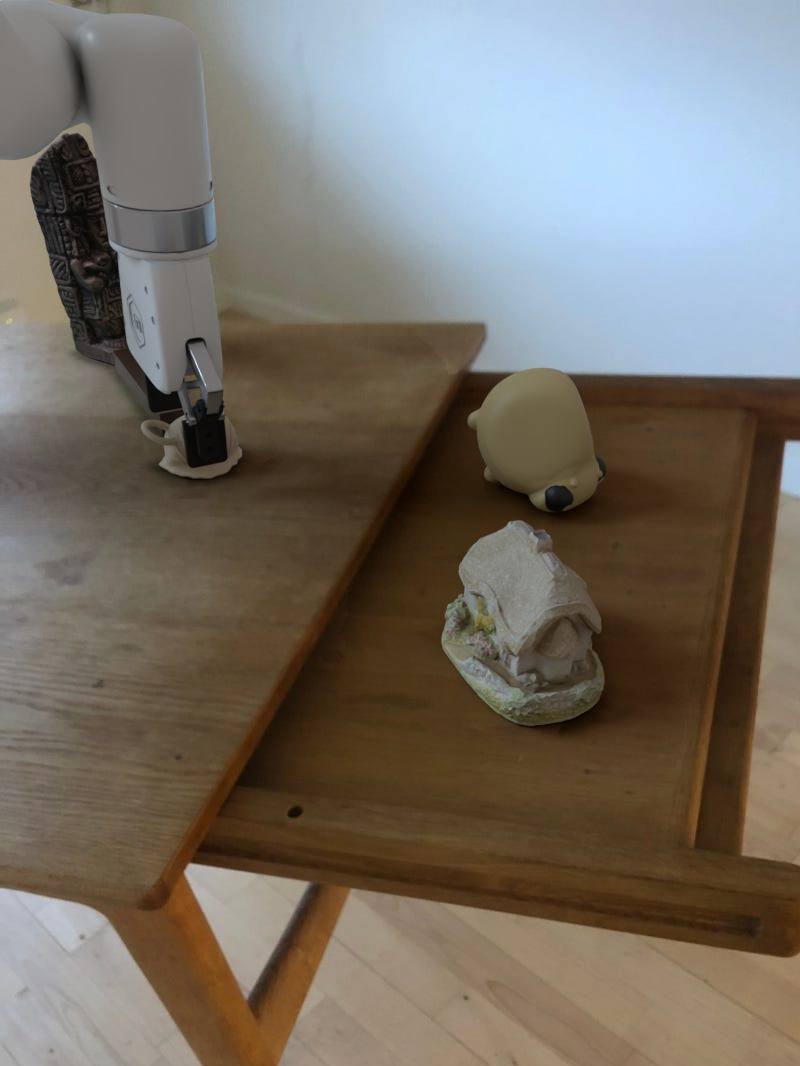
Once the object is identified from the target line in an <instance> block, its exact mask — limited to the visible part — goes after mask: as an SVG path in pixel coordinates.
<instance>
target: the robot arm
mask: <svg viewBox="0 0 800 1066" xmlns="http://www.w3.org/2000/svg"><path fill="white" fill-rule="evenodd" d="M203 66H204V65H203V59H202V51H201V47H200V43H199V40H198V39H197V36H196V35H195V33H194V32H193V30H192V29H191V28H189V26H187V24H184V23H182V22H180V21H178V20H177V19H174V18H170V17H166V16H161V15H155V14H146V13H133V12H132V13H131V12H128V13H127V12H123V13H122V12H118V13H117V12H116V13H115V12H114V13H105V14H104V13H99V12H94V11H90V10H85V9H81V8H77V7H74V6H69V5H66V4H62V3H58V2H54V1H51V0H0V161H1V160H3V161H4V160H5V161H19V160H23V159H27V158H30V157H32V156H35V155H37V154H38V153H40V152H42V151H44V149H46V148H48V147H49V146H50V145H51V144H52V143H53V142H54V141H55V140H56V139H57V138H58V137H59V136H60V135H61V133H63V132H64V131H66V130H68V129H72V128H74V127H75V126H78V125H80V124H81V125H82V124H86V125H88V126H89V127H90V130H91V136H92V142H93V148H94V155H95V158H96V162H97V168H98V174H99V181H100V187H101V193H102V200H103V206H104V212H105V219H106V225H107V231H108V237H109V243H110V246H111V247H112V248H113V249H114V250H115V251H117V252H118V266H119V277H120V287H121V296H122V305H123V314H124V323H125V332H126V339H127V344H128V347H129V349H130V352H131V353H132V355H133V356H134V358H135V359H136V361H137V362H138V364H139V365H140V367H141V368H142V369H143V373H144V380H145V387H146V393H147V400H148V407H149V409H150V410H151V412H153V413H157V412H163V411H168V410H174V409H180V408H183V411H184V414H185V418H186V420H182V429H183V437H184V445H185V453H186V461H187V464H188V465H189V467H191V468H197V467H202V466H207V465H212V464H217V463H221V462H225V461H226V460H227V459H228V453H227V442H226V431H225V416H226V414H225V407H226V405H224V404H225V401H224V400H223V398H224V386H223V384H222V381H223V378H224V377H223V376H224V367H223V363H224V362H223V349H222V341H221V340H222V339H221V331H220V323H219V315H218V314H219V313H218V309H217V308H218V307H217V300H216V295H215V287H214V281H213V275H212V269H211V264H210V259H209V253H212V252H213V251H214V250H215V249H216V248H217V247H218V243H219V242H218V232H217V220H216V208H215V196H214V186H213V173H212V164H211V153H210V152H211V151H210V141H209V140H210V139H209V129H208V115H207V104H206V93H205V92H206V91H205V80H204V69H203V68H204V67H203ZM188 376H195V377H196V379H193V380H187V381H186V379H185V377H188ZM194 392H200V395H199V396H200V398H198V399H197V400H196V401H195V403H194V405H193V401H192V398H191V394H190V393H194Z"/></svg>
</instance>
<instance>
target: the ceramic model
mask: <svg viewBox="0 0 800 1066" xmlns="http://www.w3.org/2000/svg"><path fill="white" fill-rule="evenodd" d="M458 575H459V578H460V580H461V582H462V585H463V586H464V593H460V594H458V596H457V598H455V599H454V601H453V602H451V603H448V605H447V606H446V610H445V613H444V619H445V624H444V628H443V630H442V634H441V646H442V650H443V651H444V653H445V655H446V656H447V657H448V659H449V660H450V662H451V663H452V664H453V666H454V667H455V668H456V670H457V671H458V673H459V674H460V675H461V677H462V678H463V679H464V681H465V682H466V683H467V685H469V686H470V688H471V689H472V690H473V691H474V692H475V693H476V694H477V696H478V697H479V698H480V699H481V700H482V701H483V702H485V703H486V704H487V705H488V706H489V708H491V709H492V710H493V711H494V712H495V713H496V714H498V715H499V716H502V717H503V718H504V719H506V720H509V721H510V722H512V723H515V724H518V725H523V726H529V727H534V726H544V725H548V724H555V723H561V722H564V721H569V720H572V719H575V718H576V717H579V716H580V715H581V714H584V713H586V712H588V711H589V710H590V709H592V708H594V706H595V705H596V704H597V703H598V701H599V700H600V698H601V696H602V692H603V691H604V686H605V681H606V679H605V674H604V667H603V665H602V662H601V661H600V658H599V655H598V653H597V652H595V650H593V640H592V636H593V633H596V634H600V633H601V632H602V629H603V627H602V617H601V615H600V612H599V611H598V609H597V607H596V606H595V604H594V602H593V601H592V598H591V596H590V595H589V592H588V586H587V582H586V581H585V580H584V579H582V577H581V576H580V575H579V574H578V573H577V572H576V571H575V570H573V569H572V568H570V567H569V566H567V565H565V564H564V563H563V562H562V561H561V558H559V557H558V556H557V554H556V553H555V552H554V551H553V540H552V538H551V535H550V534H548V533H547V532H546V530H545V528H542V529H541V528H540V529H534V528H533V527H532V526H531V525H530V524H529V523H527V522H525V521H523V520H521V519H519V520H510V521H509V522H508V523H507V524H506V525H505V526H504V527H502V528H501V529H499V530H497V531H495V532H493V533H491V534H488V535H485V536H483V537H480V538H479V539H478V540H477V541H476V542H474V544H473V545H471V547H470V548H468V550H467V553H466V554H465V556H464V557H463V558H462V561H461V562H460V563H459V567H458Z"/></svg>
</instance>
